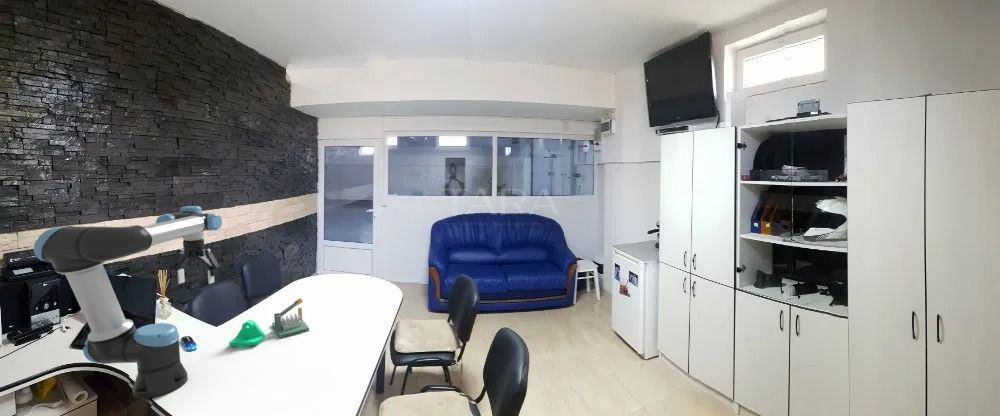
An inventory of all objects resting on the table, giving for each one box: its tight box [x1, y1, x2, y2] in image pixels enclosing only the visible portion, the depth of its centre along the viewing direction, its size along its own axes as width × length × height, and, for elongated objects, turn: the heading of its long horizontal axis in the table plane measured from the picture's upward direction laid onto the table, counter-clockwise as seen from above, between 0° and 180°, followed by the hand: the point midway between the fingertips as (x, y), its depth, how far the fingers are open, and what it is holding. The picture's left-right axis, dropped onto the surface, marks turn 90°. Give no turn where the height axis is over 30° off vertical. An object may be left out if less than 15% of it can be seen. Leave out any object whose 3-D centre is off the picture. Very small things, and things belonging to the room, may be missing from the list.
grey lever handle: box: [275, 297, 303, 317], centre depth 184 cm, size 4×14×2 cm
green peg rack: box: [271, 306, 310, 339], centre depth 185 cm, size 19×13×9 cm
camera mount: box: [228, 319, 266, 349], centre depth 168 cm, size 12×8×10 cm, turn 97°
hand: (196, 282), depth 168 cm, fingers open, 13 cm apart
